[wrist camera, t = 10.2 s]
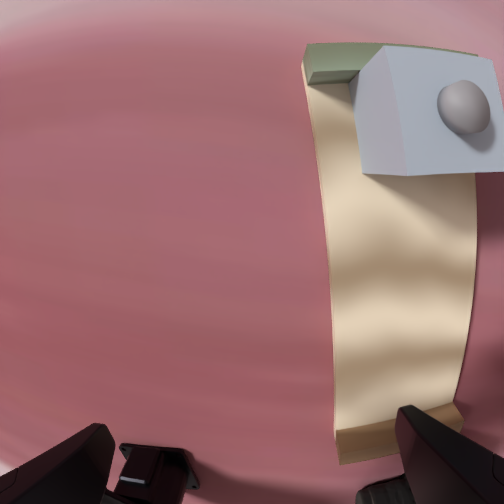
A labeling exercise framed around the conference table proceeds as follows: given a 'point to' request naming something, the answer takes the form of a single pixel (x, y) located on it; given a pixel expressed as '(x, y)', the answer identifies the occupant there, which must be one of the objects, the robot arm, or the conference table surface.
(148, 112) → the conference table surface
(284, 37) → the conference table surface
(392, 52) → the block
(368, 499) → the camera
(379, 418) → the track
